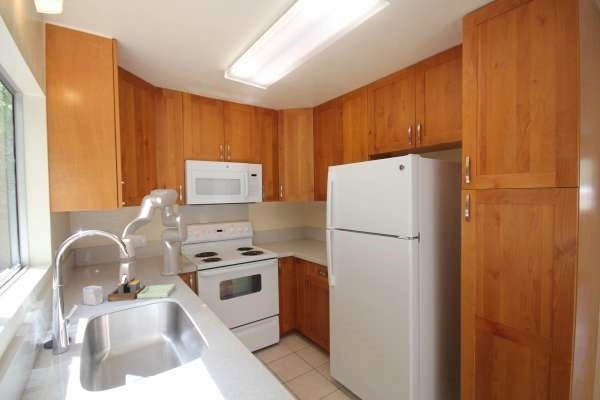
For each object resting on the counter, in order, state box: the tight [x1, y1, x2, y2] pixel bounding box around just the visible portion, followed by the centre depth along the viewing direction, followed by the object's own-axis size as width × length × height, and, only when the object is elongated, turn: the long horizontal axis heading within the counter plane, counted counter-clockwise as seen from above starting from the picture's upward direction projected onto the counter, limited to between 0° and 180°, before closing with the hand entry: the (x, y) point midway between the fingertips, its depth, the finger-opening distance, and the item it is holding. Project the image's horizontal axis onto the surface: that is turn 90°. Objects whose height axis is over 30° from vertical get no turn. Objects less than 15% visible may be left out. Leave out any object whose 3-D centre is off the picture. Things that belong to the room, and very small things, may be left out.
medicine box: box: [82, 284, 104, 307], centre depth 139 cm, size 8×4×9 cm, turn 74°
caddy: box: [117, 279, 141, 294], centre depth 151 cm, size 5×9×7 cm, turn 99°
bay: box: [107, 284, 146, 302], centre depth 149 cm, size 12×13×4 cm
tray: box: [136, 283, 176, 300], centre depth 152 cm, size 14×15×2 cm
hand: (129, 291), depth 151 cm, fingers closed on caddy, 5 cm apart
